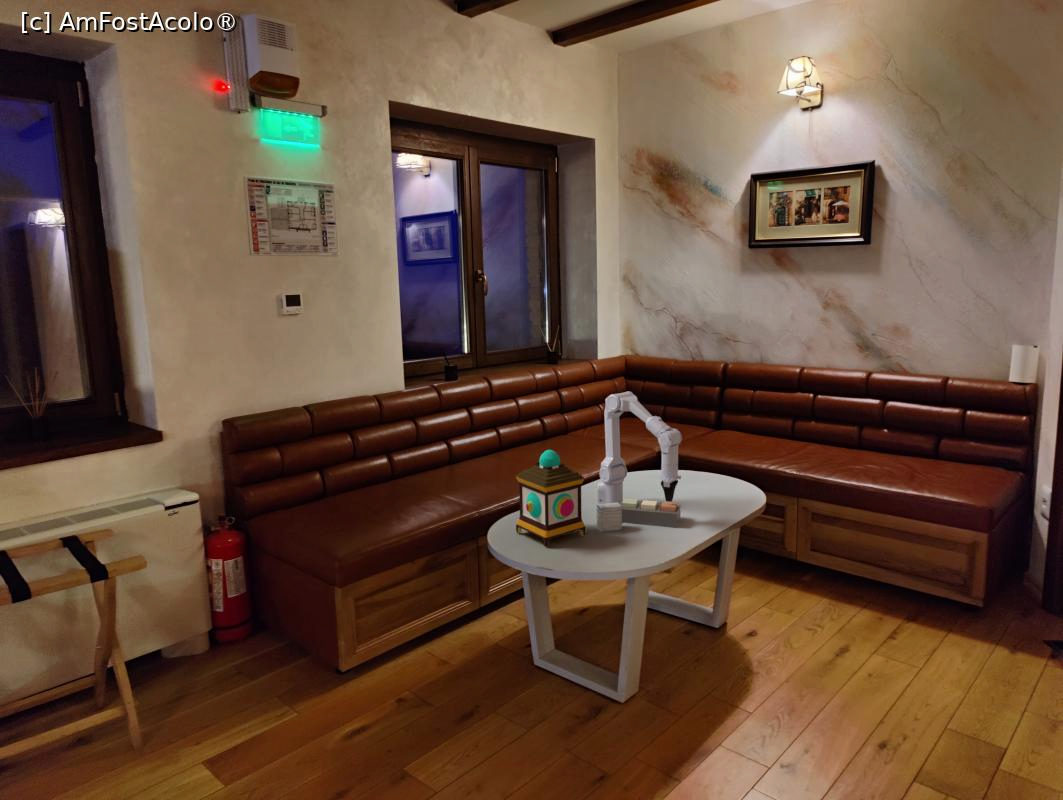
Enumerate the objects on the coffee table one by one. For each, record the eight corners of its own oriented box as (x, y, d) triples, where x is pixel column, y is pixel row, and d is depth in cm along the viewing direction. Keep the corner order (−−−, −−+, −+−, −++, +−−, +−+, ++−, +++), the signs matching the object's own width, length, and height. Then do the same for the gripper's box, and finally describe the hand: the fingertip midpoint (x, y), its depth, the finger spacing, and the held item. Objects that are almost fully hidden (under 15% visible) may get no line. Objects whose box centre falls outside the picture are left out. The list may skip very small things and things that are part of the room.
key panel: (617, 522, 262) (617, 508, 261) (622, 513, 272) (622, 500, 271) (676, 527, 256) (677, 513, 255) (680, 518, 265) (680, 504, 264)
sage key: (621, 510, 264) (621, 502, 263) (624, 506, 268) (624, 498, 268) (635, 511, 262) (635, 503, 262) (637, 507, 267) (637, 499, 266)
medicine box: (617, 525, 259) (617, 502, 258) (622, 529, 255) (622, 506, 253) (596, 527, 258) (596, 503, 256) (600, 532, 253) (600, 508, 252)
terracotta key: (660, 513, 259) (660, 506, 259) (662, 509, 264) (662, 501, 263) (675, 515, 258) (675, 507, 257) (676, 510, 262) (677, 502, 262)
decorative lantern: (510, 533, 254) (508, 448, 248) (555, 520, 265) (554, 439, 260) (545, 550, 238) (544, 461, 232) (591, 536, 249) (591, 450, 244)
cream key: (641, 512, 261) (641, 504, 261) (643, 507, 266) (643, 500, 266) (655, 513, 260) (655, 505, 259) (657, 508, 265) (657, 501, 264)
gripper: (678, 470, 250) (678, 508, 252) (683, 459, 263) (683, 495, 266) (657, 468, 252) (657, 506, 254) (663, 458, 265) (663, 494, 268)
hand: (669, 500), depth 260 cm, fingers closed
